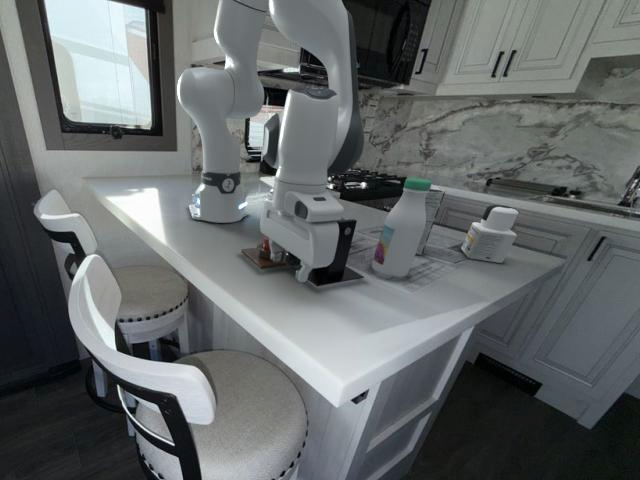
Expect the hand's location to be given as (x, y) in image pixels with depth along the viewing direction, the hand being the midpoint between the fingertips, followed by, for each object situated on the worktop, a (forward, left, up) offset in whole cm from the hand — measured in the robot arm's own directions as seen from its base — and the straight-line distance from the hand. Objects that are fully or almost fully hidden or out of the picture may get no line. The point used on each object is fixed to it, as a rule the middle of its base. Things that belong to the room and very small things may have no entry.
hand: (287, 269), depth 60 cm
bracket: (0, +10, -3) cm, 11 cm away
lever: (0, +6, +4) cm, 7 cm away
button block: (-11, +2, -3) cm, 12 cm away
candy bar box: (-8, +44, -3) cm, 45 cm away
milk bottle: (+3, +25, -3) cm, 26 cm away
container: (+3, +59, -3) cm, 59 cm away
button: (-11, +2, 0) cm, 11 cm away
